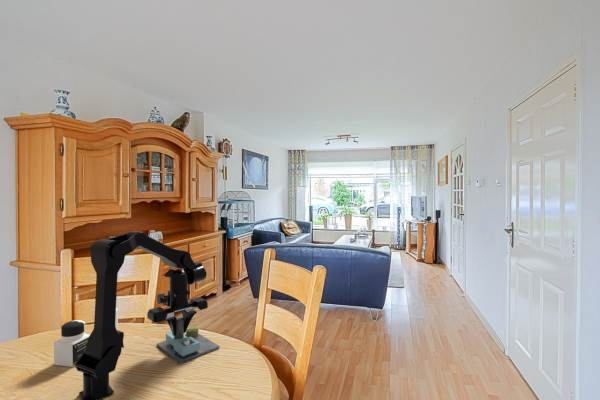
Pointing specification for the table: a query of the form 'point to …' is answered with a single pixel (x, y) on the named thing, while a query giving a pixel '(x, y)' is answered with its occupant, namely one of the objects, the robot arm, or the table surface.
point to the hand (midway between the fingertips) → (179, 334)
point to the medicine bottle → (70, 343)
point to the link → (182, 340)
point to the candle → (116, 319)
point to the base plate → (205, 348)
